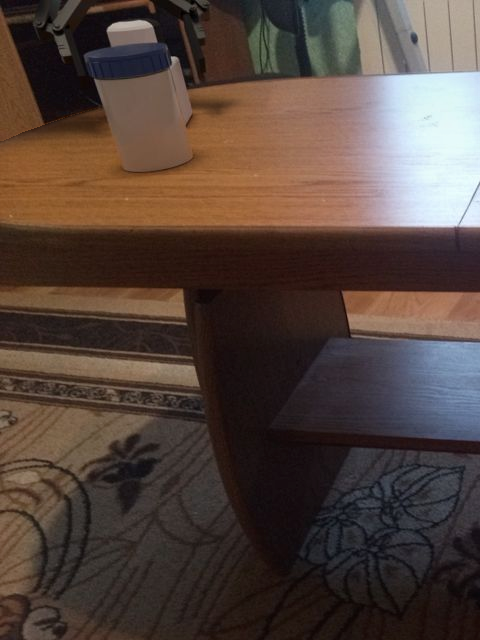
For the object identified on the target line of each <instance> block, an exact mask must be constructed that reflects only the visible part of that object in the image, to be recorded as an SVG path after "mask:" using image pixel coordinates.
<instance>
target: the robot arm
mask: <svg viewBox="0 0 480 640" xmlns="http://www.w3.org/2000/svg"><path fill="white" fill-rule="evenodd" d="M98 1H99V0H66V2H65V4H64V5H63V6H62V8H61V10H60V11H59V9H60V6H61V3H62V0H39V2H38V5H37V8H36V12H35V14H34V18H33V20H32V25H33V28H34V31H35V33H36V35H37V38H38V40H39V41H41V42H48V41H49V40H50V41H54V42H55V43H56V45H57V49H58V52H59V55H60V57H61V60H62V62H63V63H64V64H65V65H70V64H74V67H75V71H76V73H77V76H78V77H77V78H78V80H79V82H80V85H81V89H82V91H84V92H85V91H90V90H91V89H90V85H89V82H88V79H87V76H86V73H85V70H84V69H85V68H84V66H83V63H82V60H81V57H80V54H79V51H78V48H77V45H76V41H75V39H74V36H73V34H74V32H75V31H76V29H77V28H78V27H79V25H80V23H81V22H82V20H83V19H84V18H85V16H86V14H87V13H88V12H89V10H90V8H91V7H94V6H95V5H96V4H97V2H98ZM148 1H149V2H151V3H152V4H154V5H156V6H157V7H159V8H160V9H162V10H164V11H165V12H167V13H168V14H170V15H172V16H173V17H175V18H176V19H178V20H180V21H181V22H183V27H184V32H185V35H186V38H187V40H188V43H189V47H190V49H191V52H192V55H193V57H194V60H195V64H196V66H197V69H198V72H199V74H205V73H207V67H206V66H207V65H206V57H205V54H204V52H203V49H202V47H204V46H206V45H207V38H206V33H205V30H204V27H203V25H202V22H210V21H211V20H212V11H211V2H210V1H209V0H148ZM58 12H59V13H58Z"/></svg>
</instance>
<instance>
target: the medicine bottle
mask: <svg viewBox="0 0 480 640" xmlns="http://www.w3.org/2000/svg"><path fill="white" fill-rule="evenodd" d="M105 33H106V36H107V40H108V43H109V47H113V46H120V45H128V44H137V43H164V44H166V42H165V38H164V34H163V30H162V26H161V24H160V23H159V21H157V20H155V19H152V18H149V17H148V18H130V19H124V20H119V21H113V22H112V23H110V24H109V25H107V26H106V29H105ZM171 60H172V65H171V66H170V69H171V73H172V77H173V80H174V84H175V88H176V92H177V95H178V99H179V103H180V107H181V111H182V114H183V118H184V122H185V126H186V127H187V124H188V123H189V121H190V119H191V116H192V115H193V108H192V104H191V101H190V97H189V92H188V90H187V85H186V81H185V78H184V73H183V70H182V65H181V62H180V59H179V57H177V56H171Z"/></svg>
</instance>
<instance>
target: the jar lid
mask: <svg viewBox="0 0 480 640" xmlns="http://www.w3.org/2000/svg"><path fill="white" fill-rule="evenodd" d="M171 57H172V56H171V52H170V49H169V48H168V44H167V43H165V44H164V43H137V44H128V45H120V46H113V47H111V46H107V47H103V48H98V49H95V50H91V51H87V52H86V53H84V54H83V58H84V64H85V66H86V70H87V72H88V73H87V74H88V75H89V76H90V77H91V78H93V79H94V78H122V77H131V76H138V75H144V74H149V73H153V72H157V71H161V70H164V69H167V68H169V67H170V66H171V65H172V60H171Z"/></svg>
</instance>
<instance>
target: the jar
mask: <svg viewBox="0 0 480 640" xmlns="http://www.w3.org/2000/svg"><path fill="white" fill-rule="evenodd" d="M93 80H94V83H95V87H96V90H97V93H98V97H99V99H100V101H101V104H102V109H103V111H104V114H105V119H106V121H107V124H108V128H109V130H110V133H111V136H112V140H113V142H114V146H115V149H116V153H117V156H118V158H119V162H120V164H121V168H122V169H123V170H124V171H126V172H131V173H147V172H148V173H149V172H157V171H163V170H168V169H171V168H175V167H178V166H181V165H184V164H186V163H188V162H190V161H192V159H193V158H194V152H193V148H192V145H191V141H190V138H189V134H188V129H187V125H186V126H185V122H184V118H183V114H182V111H181V107H180V103H179V99H178V95H177V92H176V88H175V84H174V80H173V77H172V73H171V69H170V67H169V68H167V69H164V70H161V71H157V72H153V73H149V74H144V75H138V76H131V77H122V78H94V77H93Z"/></svg>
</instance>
